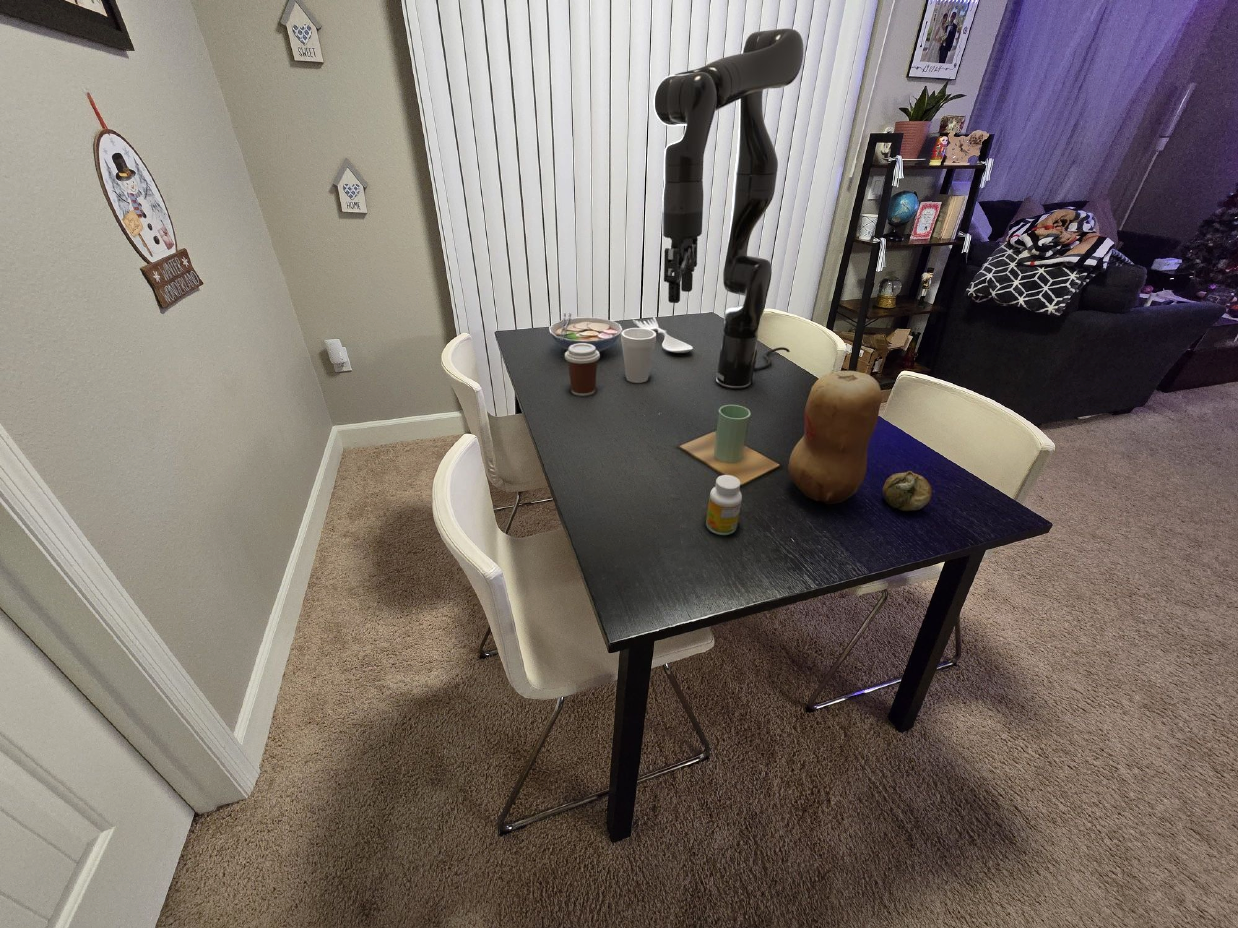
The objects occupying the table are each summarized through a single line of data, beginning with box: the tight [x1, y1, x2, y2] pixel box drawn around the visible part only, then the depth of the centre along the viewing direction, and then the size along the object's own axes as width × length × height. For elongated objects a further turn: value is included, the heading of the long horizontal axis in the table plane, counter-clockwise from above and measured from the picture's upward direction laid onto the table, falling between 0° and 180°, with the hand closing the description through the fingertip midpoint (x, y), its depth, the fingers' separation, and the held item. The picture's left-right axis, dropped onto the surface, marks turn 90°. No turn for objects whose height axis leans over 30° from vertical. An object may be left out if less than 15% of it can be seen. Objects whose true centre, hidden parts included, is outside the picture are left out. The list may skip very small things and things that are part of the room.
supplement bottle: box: [705, 474, 743, 536], centre depth 86 cm, size 5×5×10 cm
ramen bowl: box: [548, 312, 623, 353], centre depth 157 cm, size 25×23×8 cm
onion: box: [882, 470, 933, 512], centre depth 92 cm, size 8×8×8 cm
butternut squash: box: [787, 370, 883, 505], centre depth 90 cm, size 14×13×25 cm
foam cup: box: [620, 327, 657, 384], centre depth 139 cm, size 10×9×13 cm
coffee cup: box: [564, 343, 601, 397], centre depth 132 cm, size 9×9×12 cm
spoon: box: [632, 316, 694, 354], centre depth 167 cm, size 9×32×4 cm, turn 22°
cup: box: [713, 404, 752, 463], centre depth 105 cm, size 6×6×10 cm
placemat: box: [678, 430, 781, 487], centre depth 108 cm, size 18×12×1 cm, turn 37°
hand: (680, 296), depth 103 cm, fingers open, 8 cm apart
